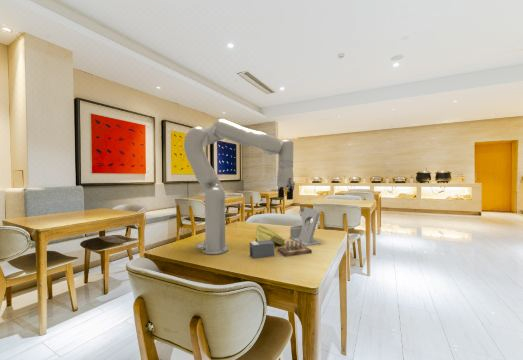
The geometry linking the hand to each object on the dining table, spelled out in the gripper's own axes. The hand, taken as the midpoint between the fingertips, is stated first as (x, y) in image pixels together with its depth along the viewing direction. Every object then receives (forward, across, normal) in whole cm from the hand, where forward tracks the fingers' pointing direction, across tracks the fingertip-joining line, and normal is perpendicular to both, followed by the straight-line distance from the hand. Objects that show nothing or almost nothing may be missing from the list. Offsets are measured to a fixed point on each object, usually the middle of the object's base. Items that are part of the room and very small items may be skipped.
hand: (285, 198), depth 120 cm
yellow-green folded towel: (+25, -11, -4) cm, 28 cm away
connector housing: (+25, +8, -16) cm, 30 cm away
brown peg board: (+25, +9, 0) cm, 26 cm away
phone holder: (+25, -5, +15) cm, 29 cm away
